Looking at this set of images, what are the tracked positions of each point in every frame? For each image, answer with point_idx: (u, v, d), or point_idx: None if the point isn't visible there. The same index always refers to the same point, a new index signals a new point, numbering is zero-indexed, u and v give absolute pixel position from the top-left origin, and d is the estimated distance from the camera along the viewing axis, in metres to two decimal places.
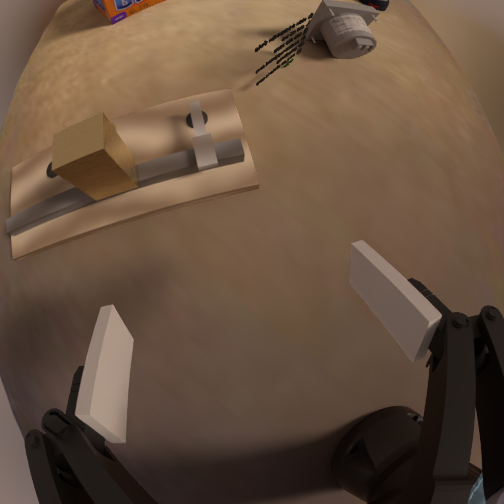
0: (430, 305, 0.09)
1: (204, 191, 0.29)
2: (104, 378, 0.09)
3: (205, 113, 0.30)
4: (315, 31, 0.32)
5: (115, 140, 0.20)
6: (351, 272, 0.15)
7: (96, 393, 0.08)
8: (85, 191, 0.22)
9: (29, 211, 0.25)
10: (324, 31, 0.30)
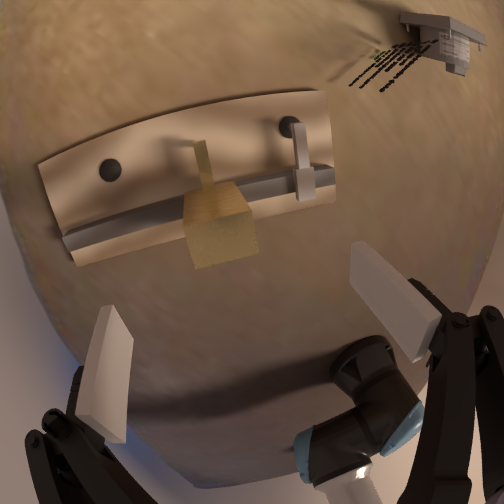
0: (430, 305, 0.09)
1: (291, 206, 0.32)
2: (104, 378, 0.09)
3: (299, 121, 0.27)
4: (415, 24, 0.21)
5: None
6: (351, 272, 0.15)
7: (96, 393, 0.08)
8: None
9: (97, 230, 0.26)
10: (427, 35, 0.21)
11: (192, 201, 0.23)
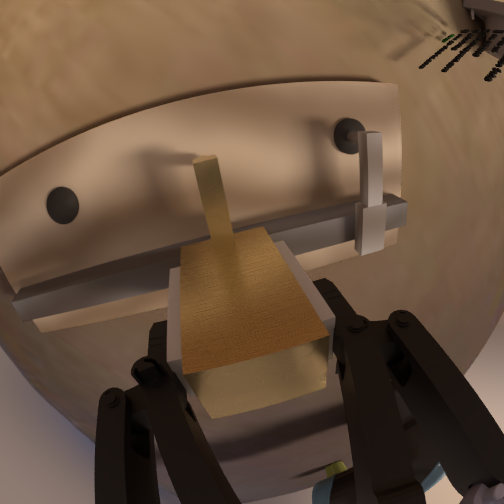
0: (325, 306, 0.10)
1: (341, 254, 0.22)
2: None
3: (363, 128, 0.17)
4: (483, 11, 0.10)
5: None
6: None
7: None
8: None
9: (53, 298, 0.16)
10: (498, 26, 0.10)
11: (196, 278, 0.13)
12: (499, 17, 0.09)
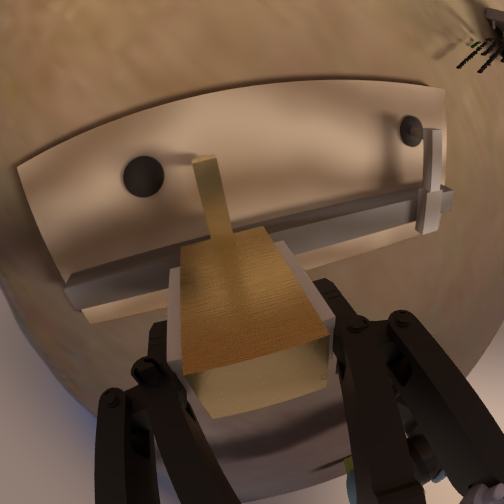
0: (325, 306, 0.10)
1: (399, 235, 0.22)
2: None
3: (421, 125, 0.17)
4: (503, 23, 0.11)
5: None
6: None
7: None
8: None
9: (124, 280, 0.16)
10: None
11: (196, 278, 0.13)
12: None
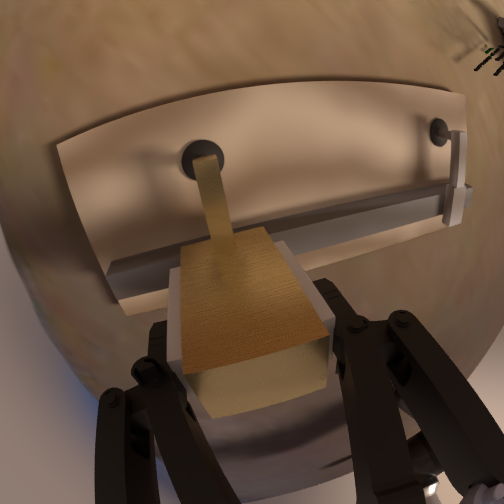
0: (325, 306, 0.10)
1: (425, 228, 0.23)
2: None
3: (446, 127, 0.18)
4: None
5: None
6: None
7: None
8: None
9: (177, 266, 0.17)
10: None
11: (196, 278, 0.13)
12: None
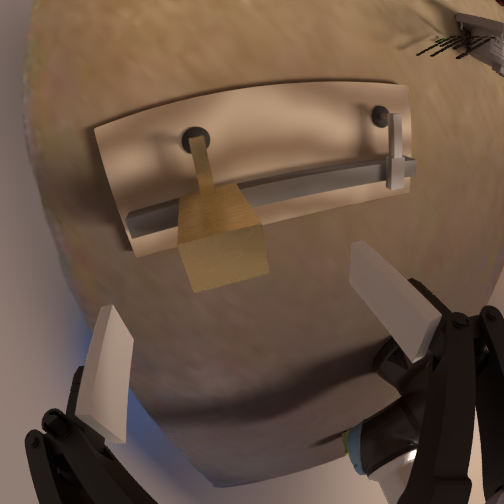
0: (430, 305, 0.09)
1: (375, 194, 0.30)
2: (104, 378, 0.09)
3: (388, 112, 0.25)
4: (469, 24, 0.18)
5: None
6: (351, 272, 0.15)
7: (96, 393, 0.08)
8: None
9: (177, 211, 0.24)
10: (479, 35, 0.17)
11: (188, 208, 0.20)
12: (481, 29, 0.16)
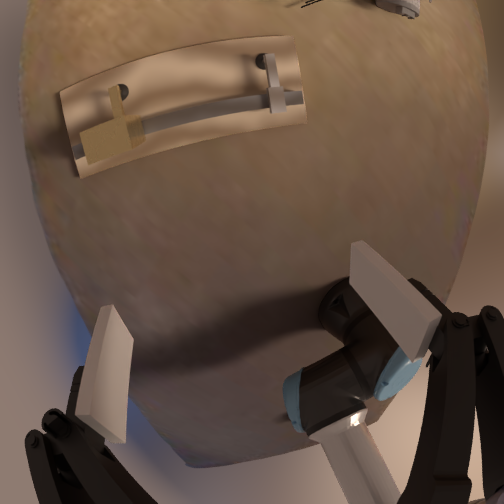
0: (430, 305, 0.09)
1: (268, 124, 0.35)
2: (104, 378, 0.09)
3: None
4: None
5: (132, 125, 0.25)
6: (351, 272, 0.15)
7: (96, 393, 0.08)
8: None
9: None
10: None
11: None
12: None
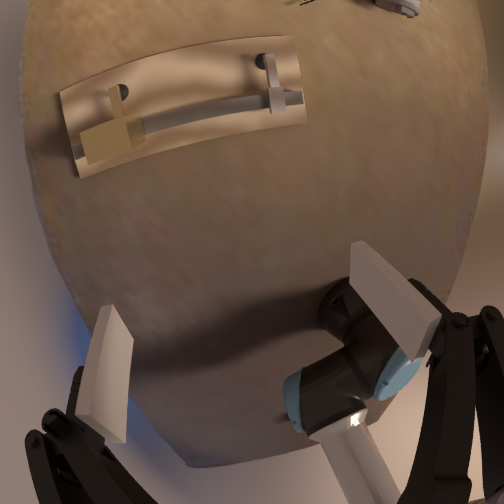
0: (430, 305, 0.09)
1: (268, 124, 0.35)
2: (104, 378, 0.09)
3: None
4: None
5: (132, 125, 0.25)
6: (351, 272, 0.15)
7: (96, 393, 0.08)
8: None
9: None
10: None
11: None
12: None
